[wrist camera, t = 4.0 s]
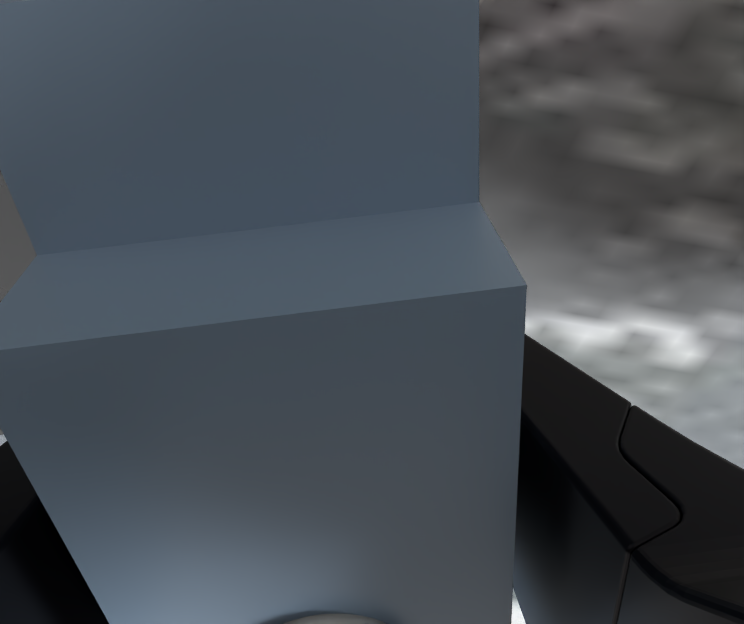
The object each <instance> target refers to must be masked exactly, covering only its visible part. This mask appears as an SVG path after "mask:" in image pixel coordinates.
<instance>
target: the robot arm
mask: <svg viewBox="0 0 744 624" xmlns="http://www.w3.org/2000/svg"><path fill="white" fill-rule="evenodd" d="M513 588H514V591H515V594H516V597H517V600H518V602H519V605H520V608H521V611H522V614H523V616H524V619H525V622H526V624H744V469H742V468H740V467H738V466H737V465H735V464H733V463H731V462H729V461H728V460H726V459H724V458H722V457H720V456H719V455H717V454H715V453H713V452H711V451H710V450H708V449H706V448H704V447H702V446H701V445H699V444H697V443H695V442H693V441H692V440H690V439H688V438H687V437H685V436H683V435H682V434H680V433H679V432H677V431H675V430H674V429H672V428H670V427H669V426H667V425H666V424H664V423H662V422H661V421H659V420H657V419H656V418H654V417H653V416H651V415H650V414H648V413H647V412H645V411H643V410H642V409H640V408H639V407H637V406H635V405H634V406H631V403H630V402H629V401H628V400H626V399H625V398H623V397H621V396H620V395H618V394H617V393H615V392H614V391H612V390H611V389H609V388H608V387H606V386H604V385H603V384H601V383H600V382H598V381H597V380H595V379H594V378H592V377H591V376H589V375H587V374H586V373H584V372H583V371H581V370H580V369H578V368H577V367H575V366H574V365H572V364H570V363H569V362H567V361H566V360H564V359H563V358H561V357H560V356H558V355H557V354H555V353H554V352H552V351H550V350H549V349H547V348H546V347H544V346H543V345H541V344H540V343H538V342H537V341H535V340H533V339H532V338H530V337H529V336H527V335H526V334H524V354H523V376H522V398H521V419H520V441H519V463H518V484H517V506H516V528H515V550H514V571H513ZM0 624H109V622H108V620H107V619H106V617H105V615H104V613H103V612H102V610H101V608H100V606H99V604H98V603H97V601H96V599H95V597H94V595H93V594H92V592H91V590H90V588H89V586H88V585H87V583H86V581H85V579H84V577H83V576H82V574H81V572H80V570H79V568H78V567H77V565H76V563H75V561H74V559H73V558H72V556H71V554H70V552H69V550H68V549H67V547H66V545H65V543H64V541H63V540H62V538H61V536H60V534H59V532H58V531H57V529H56V527H55V525H54V523H53V522H52V520H51V518H50V516H49V514H48V513H47V511H46V509H45V507H44V505H43V504H42V502H41V500H40V498H39V496H38V495H37V493H36V491H35V489H34V487H33V486H32V484H31V482H30V480H29V478H28V477H27V475H26V473H25V471H24V469H23V468H22V466H21V464H20V462H19V460H18V459H17V457H16V455H15V453H14V451H13V450H12V448H11V446H10V444H9V443H8V441H6V442H5V443H4V444H3V445H1V446H0Z"/></svg>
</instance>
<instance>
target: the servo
mask: <svg viewBox="0 0 744 624" xmlns="http://www.w3.org/2000/svg"><path fill="white" fill-rule="evenodd" d="M0 170H1V173H2V175H3V177H4V180H5V182H6V184H7V187H8V189H9V191H10V194H11V196H12V198H13V201H14V203H15V205H16V208H17V210H18V212H19V215H20V217H21V219H22V222H23V224H24V226H25V229H26V231H27V233H28V236H29V238H30V240H31V243H32V245H33V247H34V250H35V252H36V254H37V256H36V257H35V258H34V260H33V261H32V262H31V264H30V265H29V266H28V267H27V269H26V270H25V271H24V273H23V274H22V275H21V276H20V278H19V279H18V280H17V282H16V283H15V284H14V286H13V287H12V288H11V289H10V291H9V292H8V293H7V295H6V296H5V297H4V298H3V300H2V301H1V302H0V428H1V430H2V432H3V434H4V435H5V437H6V439H7V441H8V443H9V444H10V446H11V448H12V450H13V451H14V453H15V455H16V457H17V459H18V460H19V462H20V464H21V466H22V468H23V469H24V471H25V473H26V475H27V477H28V478H29V480H30V482H31V484H32V486H33V487H34V489H35V491H36V493H37V495H38V496H39V498H40V500H41V502H42V504H43V505H44V507H45V509H46V511H47V513H48V514H49V516H50V518H51V520H52V522H53V523H54V525H55V527H56V529H57V531H58V532H59V534H60V536H61V538H62V540H63V541H64V543H65V545H66V547H67V549H68V550H69V552H70V554H71V556H72V558H73V559H74V561H75V563H76V565H77V567H78V568H79V570H80V572H81V574H82V576H83V577H84V579H85V581H86V583H87V585H88V586H89V588H90V590H91V592H92V594H93V595H94V597H95V599H96V601H97V603H98V604H99V606H100V608H101V610H102V612H103V613H104V615H105V617H106V619H107V620H108V622H109V624H511V615H512V593H513V571H514V550H515V528H516V506H517V484H518V463H519V441H520V419H521V398H522V376H523V354H524V333H525V311H526V289H527V285H526V283H525V281H524V279H523V278H522V276H521V274H520V272H519V271H518V269H517V267H516V265H515V264H514V262H513V260H512V258H511V257H510V255H509V253H508V251H507V250H506V248H505V246H504V244H503V243H502V241H501V239H500V237H499V236H498V234H497V232H496V230H495V229H494V227H493V225H492V223H491V222H490V220H489V218H488V216H487V215H486V213H485V211H484V209H483V208H482V206H481V204H480V202H479V0H0Z"/></svg>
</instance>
